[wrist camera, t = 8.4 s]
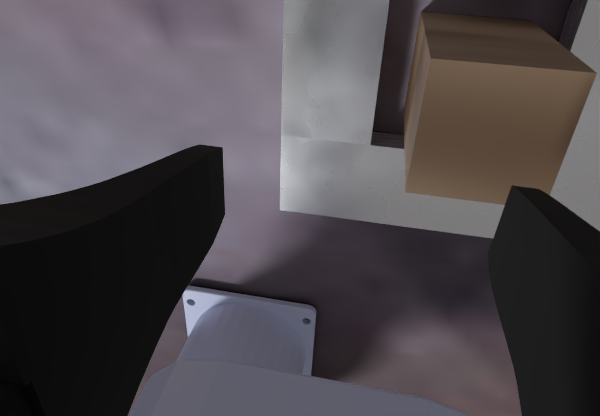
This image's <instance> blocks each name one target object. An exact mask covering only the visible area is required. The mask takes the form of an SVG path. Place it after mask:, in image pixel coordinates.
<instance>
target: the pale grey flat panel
mask: <svg viewBox="0 0 600 416" xmlns="http://www.w3.org/2000/svg"><path fill="white" fill-rule="evenodd" d="M389 1H390V0H284V15H283V68H282V121H281V174H280V210H284V211H292V212H299V213H306V214H314V215H321V216H329V217H336V218H344V219H351V220H359V221H366V222H373V223H381V224H388V225H396V226H403V227H411V228H418V229H426V230H433V231H440V232H448V233H455V234H463V235H470V236H478V237H485V238H494V235H495V232H496V229H497V226H498V223H499V221H500V218H501V215H502V212H503V209H504V206H505V205H501V204H493V203H485V202H477V201H469V200H461V199H453V198H445V197H437V196H429V195H421V194H414V193H406V192H405V150H404V135H401V134H392V133H382V132H373V131H372V130H373V122H374V114H375V107H376V99H377V92H378V84H379V77H380V69H381V62H382V54H383V47H384V39H385V31H386V24H387V16H388V9H389ZM558 42H559V43H560V44H561V45H563V46H564V47H565V48H566V49H568V50H569V51H570V52H571V53H573V54H574V55H575V56H576V57H578V58H579V59H580V60H581V61H583V62H584V63H585V64H586V65H588V66H589V67H590V68H591V69H593V70H594V71H595V72H596V73H597V75H596V77H595V80H594V82H593V85H592V87H591V90H590V93H589V95H588V98H587V100H586V103H585V105H584V108H583V111H582V113H581V116H580V118H579V121H578V124H577V126H576V129H575V131H574V134H573V136H572V139H571V142H570V144H569V147H568V149H567V152H566V154H565V157H564V160H563V162H562V165H561V167H560V170H559V173H558V175H557V178H556V180H555V183H554V185H553V188H552V191H551V193H550V196H551V197H553V198H554V199H556V200H557V201H559V202H560V203H561V204H563V205H564V206H566V207H567V208H568V209H570V210H571V211H572V212H574V213H575V214H576V215H578V216H579V217H581V218H582V219H583V220H585V221H586V222H587V223H589V224H590V225H592V226H593V227H594V228H596V229H597V230H599V231H600V0H572V1H571V4H570V7H569V10H568V13H567V16H566V19H565V22H564V25H563V28H562V31H561V34H560V37H559V40H558Z"/></svg>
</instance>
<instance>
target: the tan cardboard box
mask: <svg viewBox="0 0 600 416" xmlns="http://www.w3.org/2000/svg"><path fill="white" fill-rule="evenodd" d="M596 75H597V73H596V72H595V71H594V70H593V69H591V68H590V67H589V66H588V65H586V64H585V63H584V62H583V61H581V60H580V59H579V58H578V57H576V56H575V55H574V54H573V53H571V52H570V51H569V50H568V49H566V48H565V47H564V46H563V45H561V44H560V43H559V42H558V41H556V40H555V39H554V38H553V37H551V36H550V35H549V34H548V33H546V32H545V31H544V30H543V29H541V28H540V27H539V26H537V25H536V24H535V23H534V22H532V21H531V20H524V19H511V18H498V17H485V16H471V15H458V14H445V13H432V12H421V14H420V20H419V26H418V32H417V37H416V43H415V49H414V55H413V61H412V67H411V73H410V79H409V85H408V90H407V96H406V102H405V108H404V150H405V192H406V193H414V194H421V195H429V196H437V197H445V198H453V199H461V200H469V201H477V202H485V203H493V204H501V205H505V203H506V200H507V197H508V194H509V192H510V189H511V186H512V185H513V186H520V187H528V188H536V189H540V190H542V191H543V192H545V193H547V194H548V195H550V193H551V191H552V188H553V185H554V183H555V180H556V178H557V175H558V173H559V170H560V167H561V165H562V162H563V160H564V157H565V154H566V152H567V149H568V147H569V144H570V142H571V139H572V136H573V134H574V131H575V129H576V126H577V124H578V121H579V118H580V116H581V113H582V111H583V108H584V105H585V103H586V100H587V98H588V95H589V93H590V90H591V87H592V85H593V82H594V80H595V77H596Z"/></svg>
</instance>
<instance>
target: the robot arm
mask: <svg viewBox="0 0 600 416" xmlns="http://www.w3.org/2000/svg"><path fill="white" fill-rule="evenodd" d="M224 215H225V202H224V176H223V150H222V147H214V146H207V145H197V146H193V147H190V148H187V149H184V150H182V151H179V152H177V153H174V154H172V155H170V156H167V157H165V158H163V159H160V160H158V161H155V162H153V163H151V164H148V165H146V166H143V167H141V168H138V169H136V170H133V171H130V172H128V173H125V174H122V175H119V176H117V177H114V178H111V179H109V180H106V181H103V182H100V183H97V184H93V185H90V186H87V187H83V188H79V189H76V190H72V191H68V192H64V193H60V194H55V195H51V196H46V197H41V198H36V199H31V200H26V201H21V202H15V203H9V204H2V205H0V416H127V415H128V413H129V410H130V408H131V405H132V403H133V400H134V398H135V395H136V392H137V390H138V387H139V385H140V383H141V380H142V378H143V376H144V373H145V371H146V368H147V366H148V364H149V361H150V359H151V357H152V354H153V352H154V350H155V348H156V345H157V343H158V341H159V339H160V337H161V334H162V332H163V330H164V328H165V326H166V323H167V321H168V319H169V317H170V315H171V314H172V312H173V310H174V308H175V306H176V304H177V303H178V301H179V299H180V298H181V296H182V295H183V302H184V310H185V317H186V325H187V333H188V339H187V341H186V343H185V345H184V347H183V349H182V351H181V353H180V355H179V357H178V359H177V361H176V362H175V363H173V364H171V365H169V366H168V367H166V368H164V369H162V370H160V371H159V372H157V373H155V374H153V375H151V376H150V378H149V380H148V382H147V384H146V386H145V387H144V389H143V391H142V393H141V395H140V397H139V398H138V400H137V402H136V404H135V406H134V408H133V409H132V411H131V413H130V415H129V416H471V415H469V414H467V413H465V412H463V411H460V410H457V409H455V408H452V407H449V406H446V405H444V404H441V403H438V402H436V401H433V400H430V399H428V398H425V397H420V396H414V395H409V394H404V393H399V392H393V391H388V390H383V389H377V388H372V387H367V386H362V385H356V384H351V383H346V382H340V381H335V380H330V379H325V378H319V377H314V376H311V373H312V361H313V348H314V336H315V324H316V309H315V308H314V307H313V306H311V305H307V304H301V303H294V302H288V301H282V300H276V299H270V298H263V297H257V296H251V295H245V294H238V293H232V292H226V291H220V290H214V289H207V288H201V287H195V286H188V285H189V283H190V281H191V280H192V278H193V276H194V275H195V273H196V271H197V270H198V268H199V266H200V265H201V263H202V261H203V260H204V258H205V256H206V255H207V253H208V251H209V250H210V248H211V246H212V244H213V242H214V240H215V238H216V235H217V233H218V231H219V228H220V226H221V223H222V220H223V218H224ZM488 256H489V267H490V277H491V285H492V290H493V294H494V298H495V301H496V305H497V309H498V313H499V316H500V320H501V323H502V327H503V331H504V334H505V338H506V341H507V345H508V348H509V352H510V356H511V359H512V363H513V367H514V371H515V376H516V380H517V385H518V392H519V398H520V405H521V411H522V416H600V231H599V230H597V229H596V228H594V227H593V226H592V225H590V224H589V223H587V222H586V221H585V220H583V219H582V218H581V217H579V216H578V215H576V214H575V213H574V212H572V211H571V210H570V209H568V208H567V207H566V206H564V205H563V204H561V203H560V202H559V201H557V200H556V199H554V198H553V197H551V196H550V195H548V194H547V193H545V192H543V191H542V190H540V189H536V188H528V187H520V186H513V185H512V186H511V189H510V192H509V194H508V197H507V200H506V203H505V206H504V209H503V212H502V215H501V218H500V221H499V223H498V226H497V229H496V232H495V235H494V238H493V241H492V244H491V247H490V250H489V253H488ZM191 299H192V300H193V301H192V300H191ZM304 318H307V319H309V320H306V319H304Z"/></svg>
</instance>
